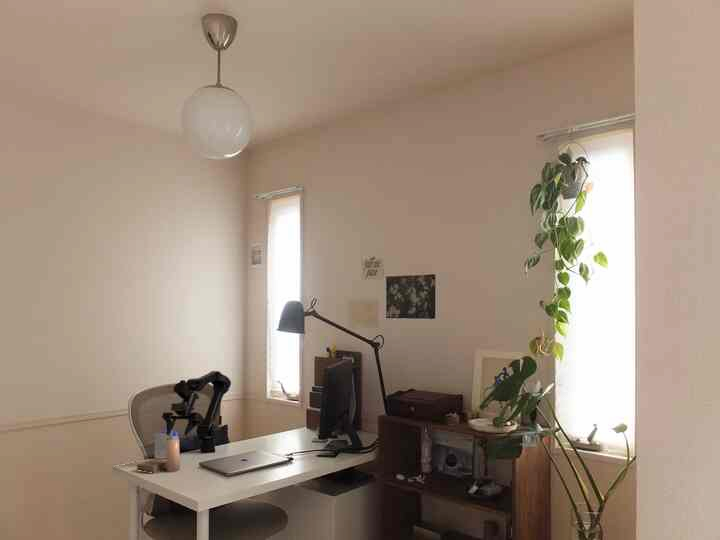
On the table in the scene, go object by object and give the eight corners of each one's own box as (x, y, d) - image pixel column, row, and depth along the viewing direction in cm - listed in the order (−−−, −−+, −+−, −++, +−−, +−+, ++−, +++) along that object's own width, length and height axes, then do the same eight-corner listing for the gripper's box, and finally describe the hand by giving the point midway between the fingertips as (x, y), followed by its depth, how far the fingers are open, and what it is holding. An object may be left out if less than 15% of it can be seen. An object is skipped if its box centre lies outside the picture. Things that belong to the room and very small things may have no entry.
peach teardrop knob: (180, 468, 244) (179, 438, 246) (179, 471, 240) (178, 440, 241) (168, 469, 243) (167, 439, 244) (167, 472, 238) (166, 441, 240)
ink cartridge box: (179, 456, 267) (178, 425, 268) (173, 459, 262) (172, 427, 263) (160, 455, 269) (160, 425, 270) (154, 458, 264) (153, 427, 265)
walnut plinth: (155, 465, 251) (155, 458, 251) (171, 467, 247) (171, 460, 247) (137, 471, 242) (137, 464, 242) (153, 473, 238) (153, 466, 238)
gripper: (161, 395, 257) (149, 426, 247) (197, 395, 252) (185, 427, 242) (173, 406, 265) (161, 437, 255) (208, 406, 260) (197, 438, 250)
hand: (176, 435), depth 250 cm, fingers open, 9 cm apart
